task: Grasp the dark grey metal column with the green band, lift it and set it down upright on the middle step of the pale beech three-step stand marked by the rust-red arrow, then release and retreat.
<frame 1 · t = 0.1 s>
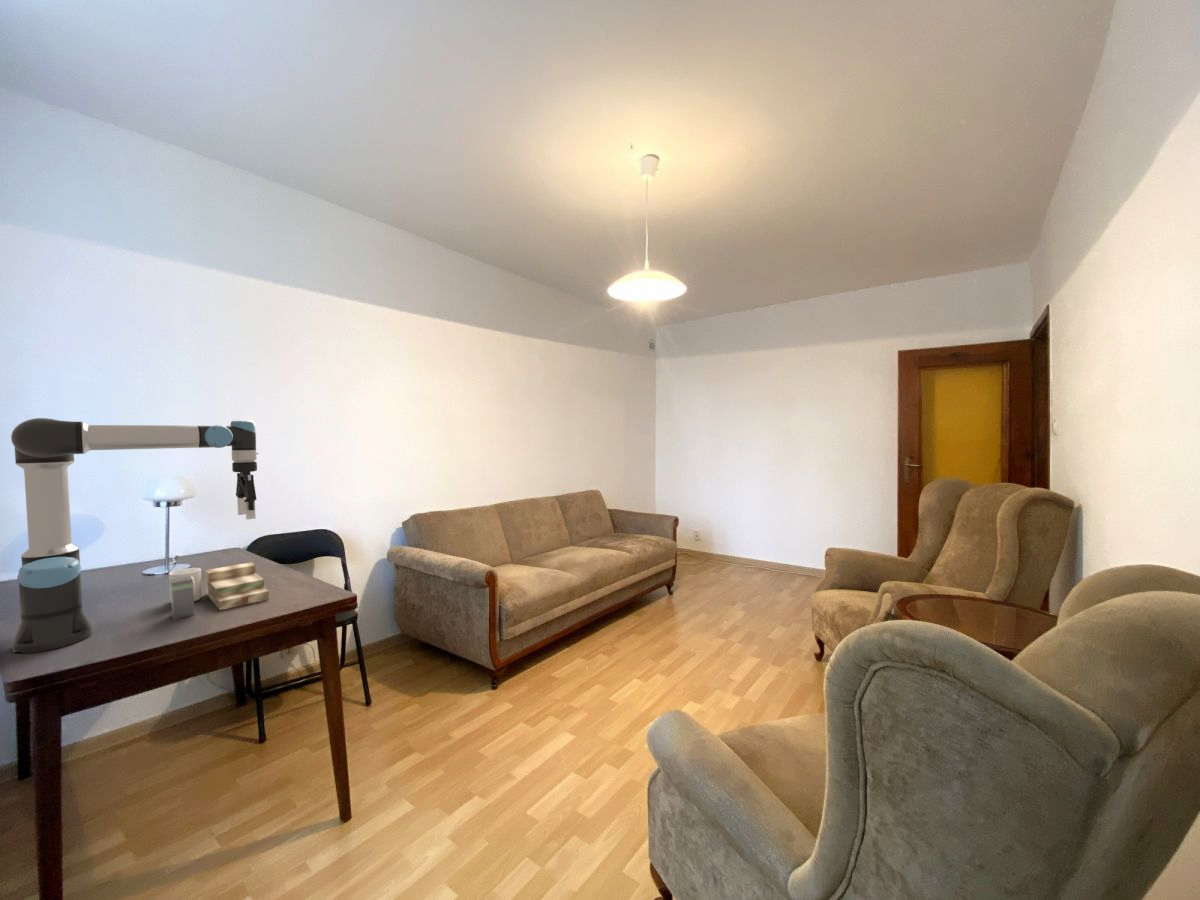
hand: (246, 516, 181), 28 cm above the table, fingers open, 13 cm apart
column: (183, 615, 157), on the table
stepped stand: (237, 596, 174), on the table
mug: (188, 601, 169), on the table
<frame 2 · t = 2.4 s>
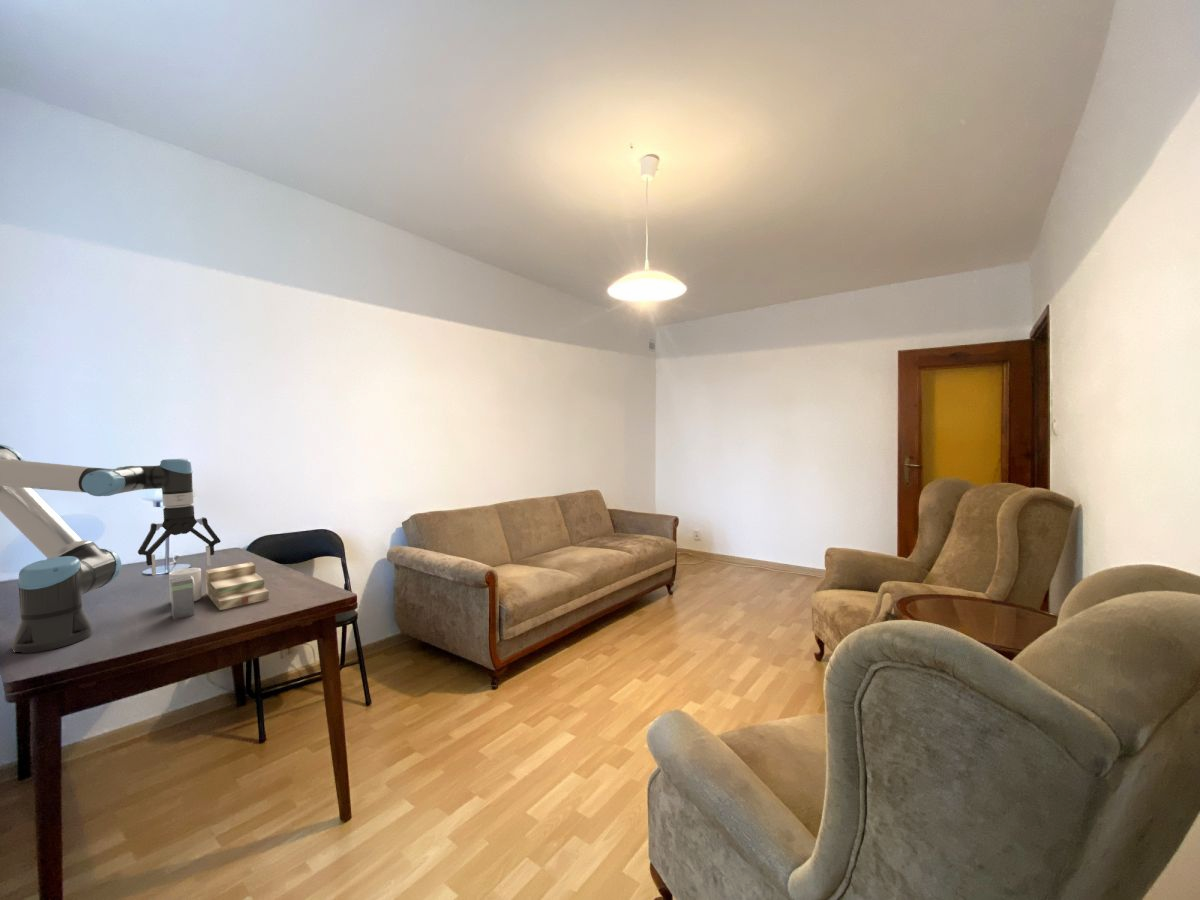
hand: (182, 569, 156), 15 cm above the table, fingers open, 13 cm apart
nothing on the table moved.
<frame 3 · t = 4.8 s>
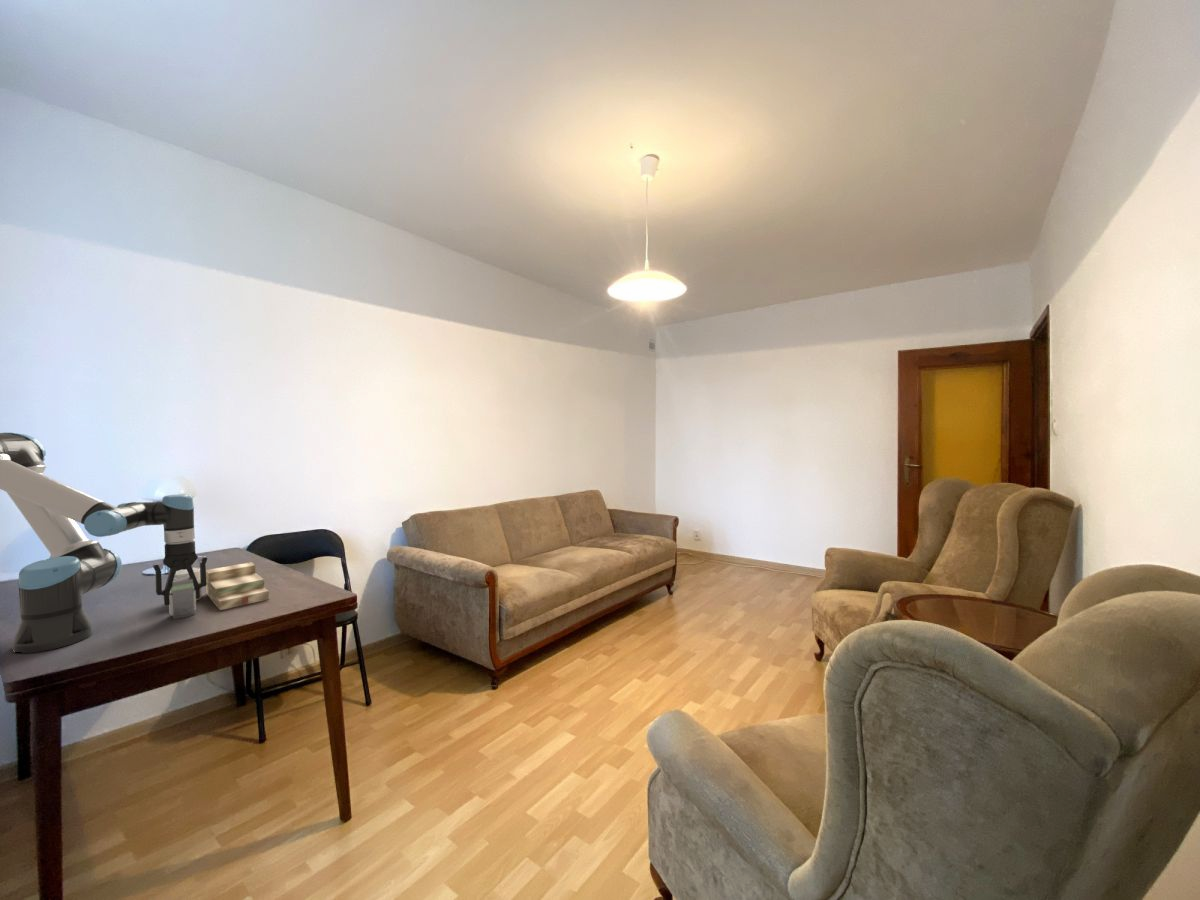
hand: (182, 611, 156), 1 cm above the table, fingers closed on column, 5 cm apart
column: (183, 615, 157), on the table, touching gripper
everything else where it was.
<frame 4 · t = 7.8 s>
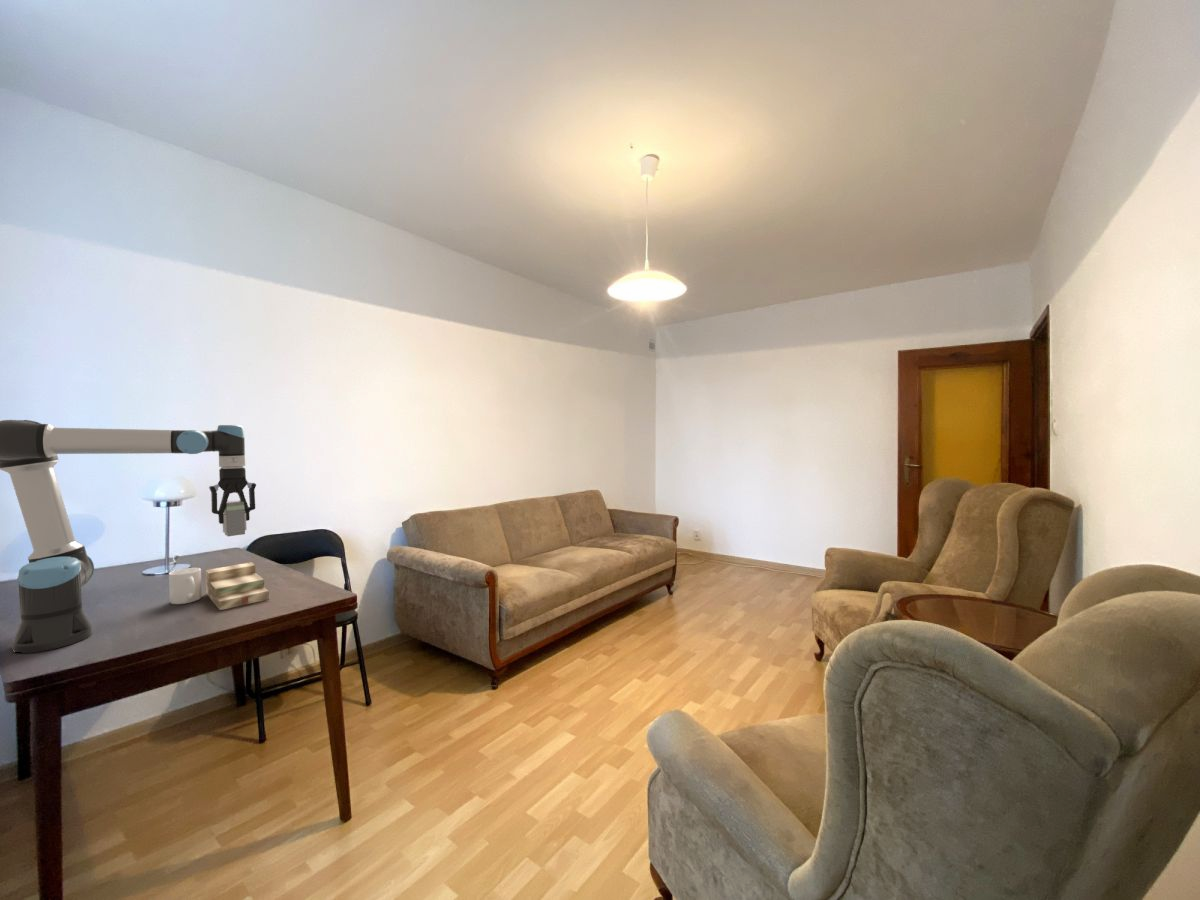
hand: (234, 530, 173), 24 cm above the table, fingers closed on column, 5 cm apart
column: (235, 534, 173), point 23 cm above the table, touching gripper
everything else where it was.
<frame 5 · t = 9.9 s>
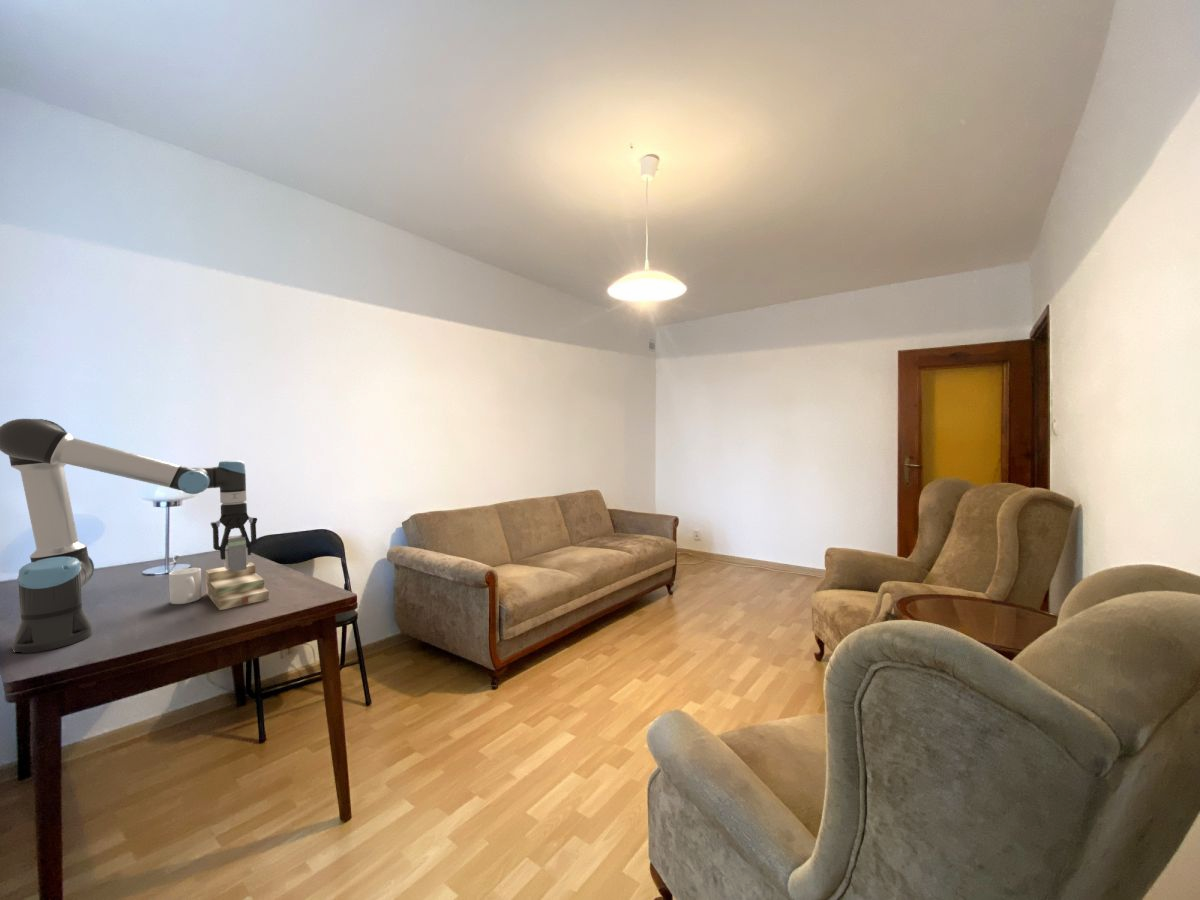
hand: (236, 565, 173), 11 cm above the table, fingers closed on column, 5 cm apart
column: (236, 569, 173), point 10 cm above the table, touching gripper
everything else where it was.
when the fingers open (9 cm above the table, at t = 11.2 s): column drops 1 cm, resting on stepped stand.
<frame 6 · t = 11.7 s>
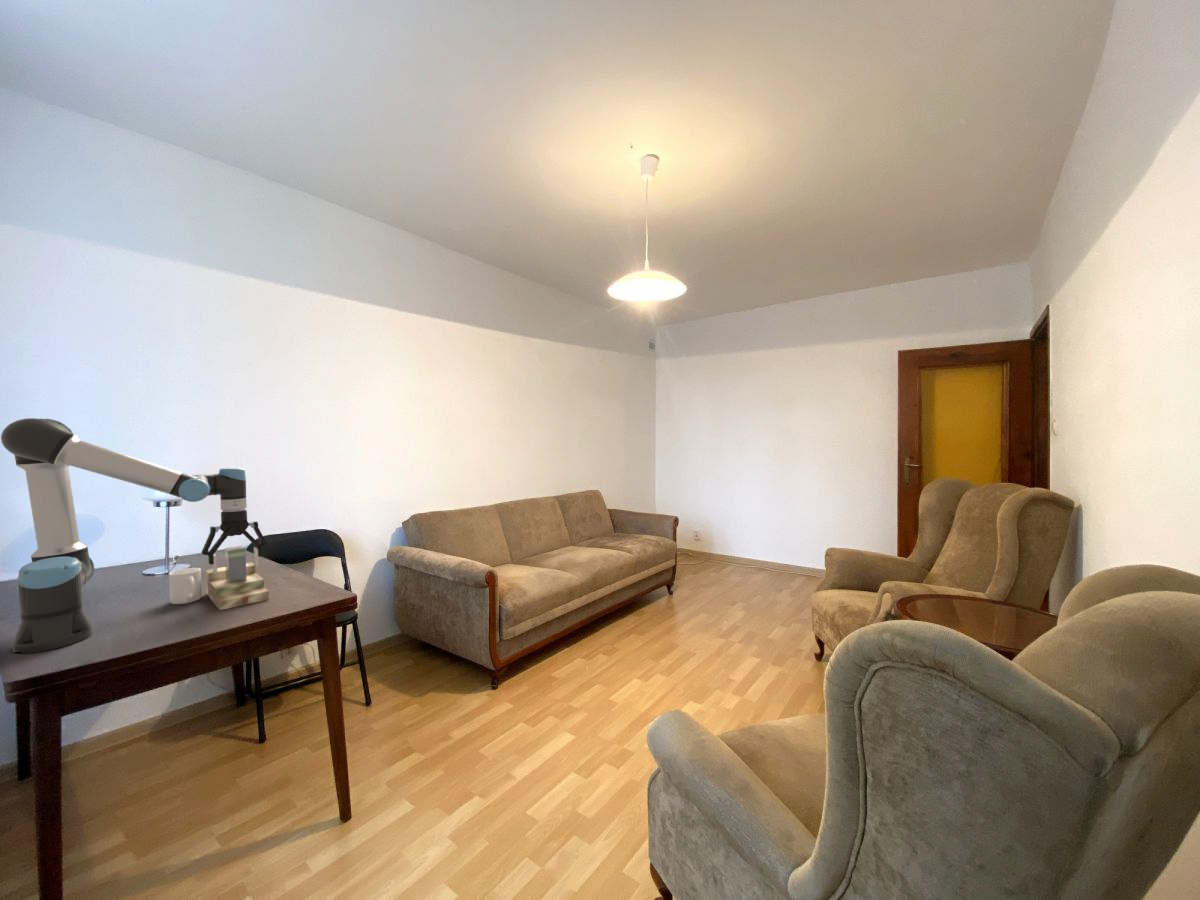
hand: (236, 569, 173), 10 cm above the table, fingers open, 11 cm apart
column: (236, 580, 173), point 6 cm above the table, touching stepped stand
everything else where it was.
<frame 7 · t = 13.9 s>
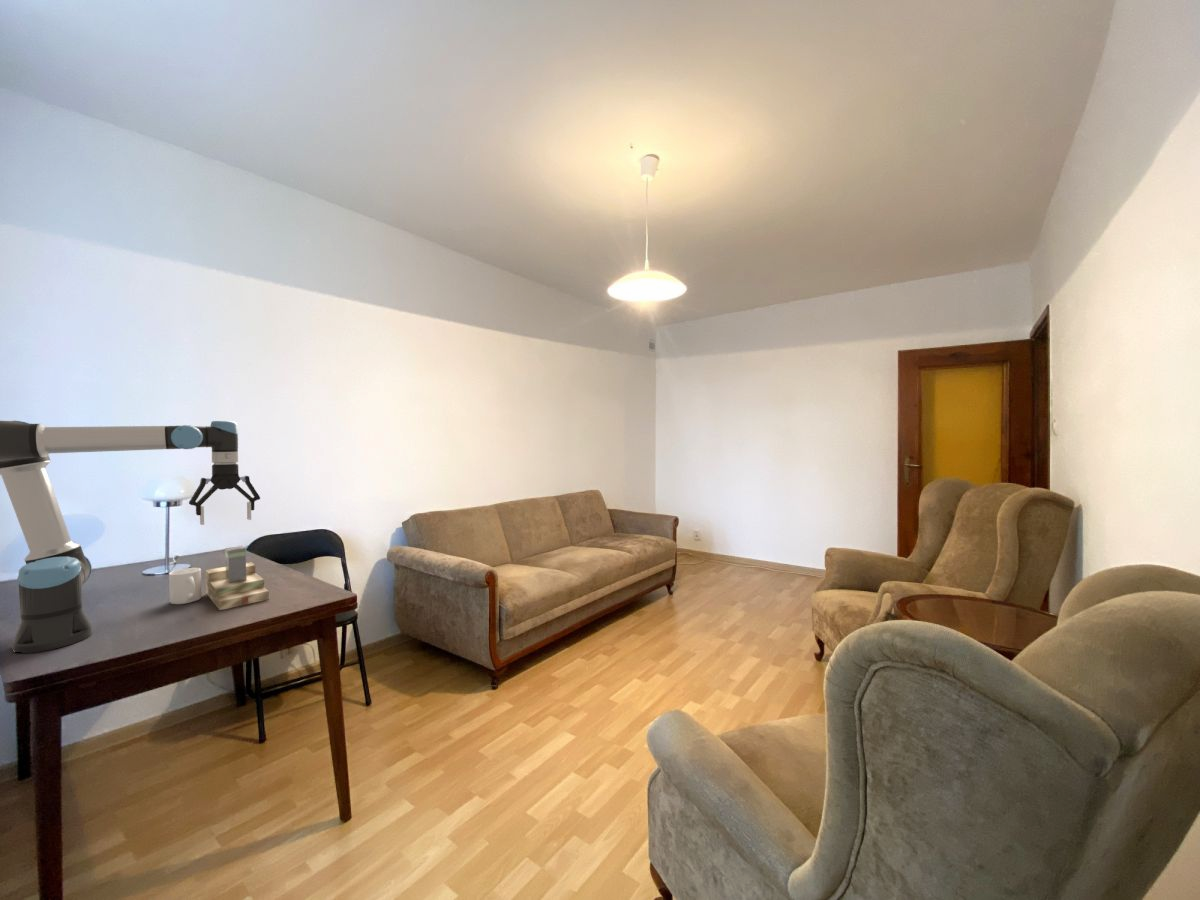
hand: (226, 521, 172), 28 cm above the table, fingers open, 13 cm apart
nothing on the table moved.
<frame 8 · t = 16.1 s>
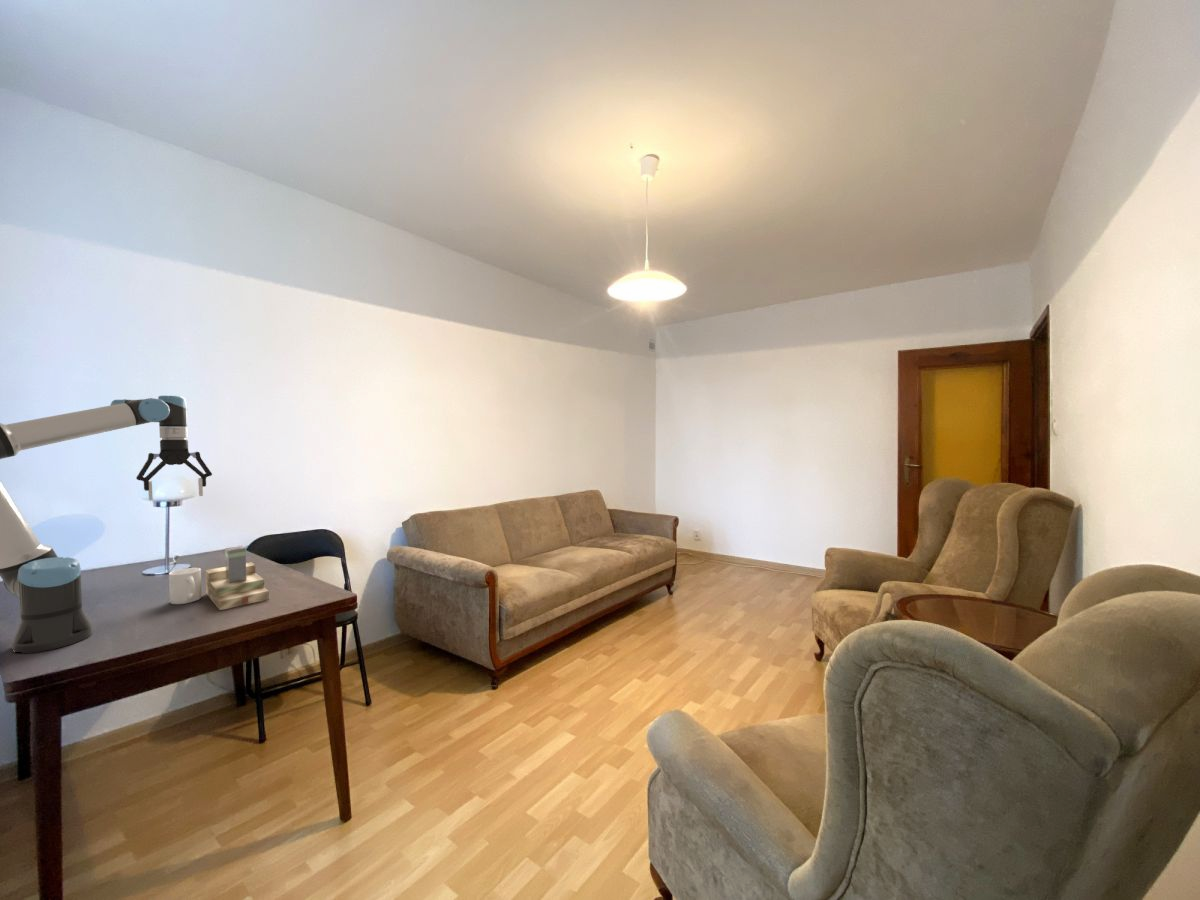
hand: (176, 497, 171), 37 cm above the table, fingers open, 13 cm apart
nothing on the table moved.
at the end: column inside the target area on the stepped stand (0.1 cm from its centre), point 6.0 cm above the stepped stand's base; column tilted 0°; the gripper is holding nothing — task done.
